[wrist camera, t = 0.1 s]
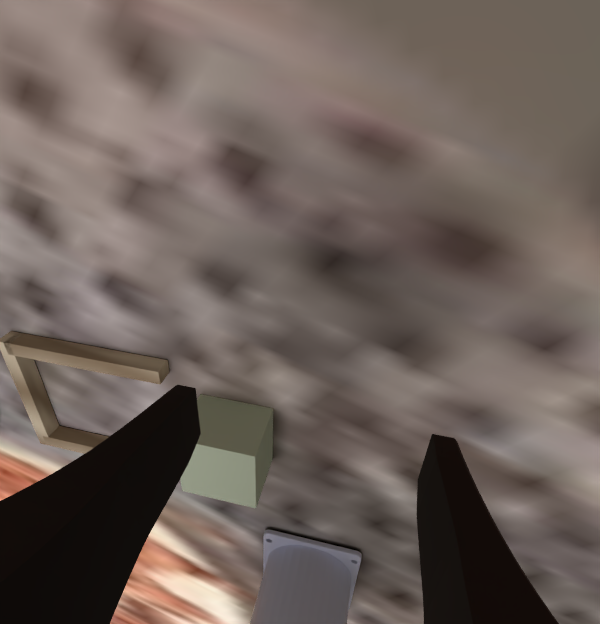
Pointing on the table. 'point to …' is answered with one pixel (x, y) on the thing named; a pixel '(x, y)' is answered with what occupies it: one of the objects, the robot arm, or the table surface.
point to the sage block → (230, 451)
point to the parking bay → (27, 379)
